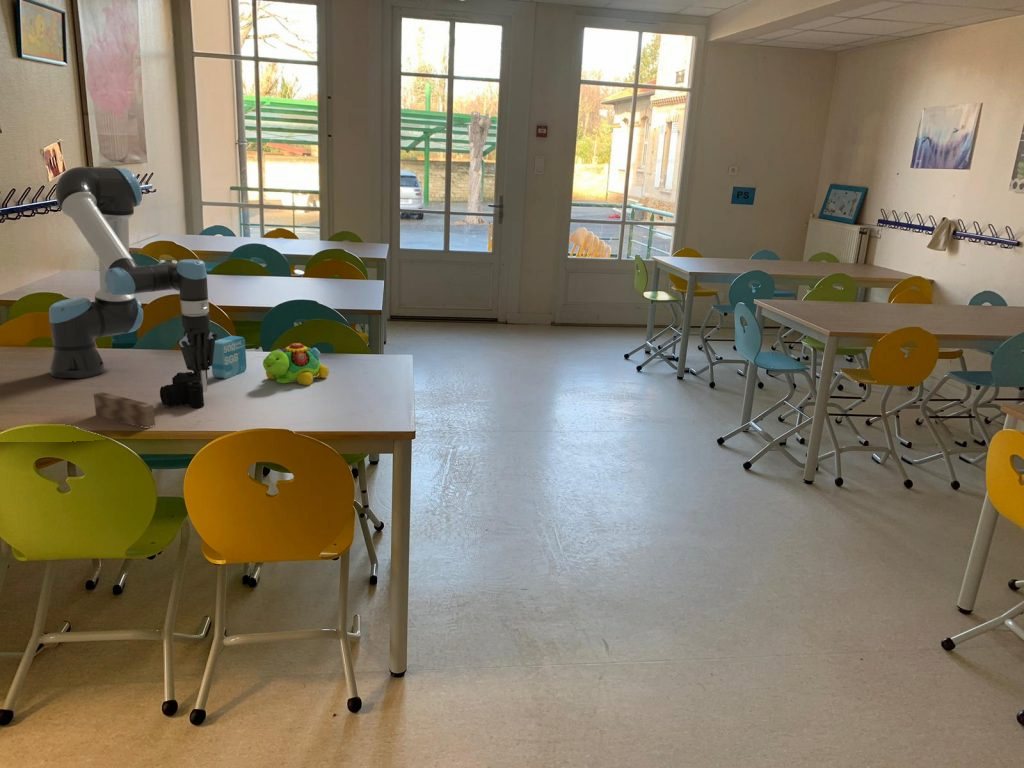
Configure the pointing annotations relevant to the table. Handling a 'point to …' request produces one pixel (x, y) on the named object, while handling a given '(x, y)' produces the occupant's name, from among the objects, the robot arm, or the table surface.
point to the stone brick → (124, 409)
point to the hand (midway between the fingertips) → (202, 391)
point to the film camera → (183, 391)
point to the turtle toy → (295, 364)
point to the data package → (229, 357)
